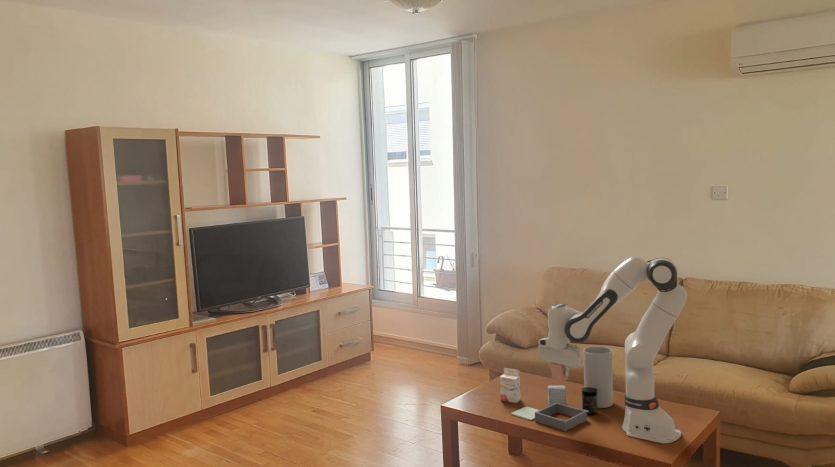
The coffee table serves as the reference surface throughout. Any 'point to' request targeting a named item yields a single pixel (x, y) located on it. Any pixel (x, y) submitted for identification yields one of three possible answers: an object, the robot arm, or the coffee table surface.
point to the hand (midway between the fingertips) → (559, 373)
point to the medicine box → (556, 395)
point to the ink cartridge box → (510, 386)
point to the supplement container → (589, 400)
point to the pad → (525, 413)
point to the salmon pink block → (558, 372)
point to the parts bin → (545, 418)
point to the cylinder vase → (599, 374)
